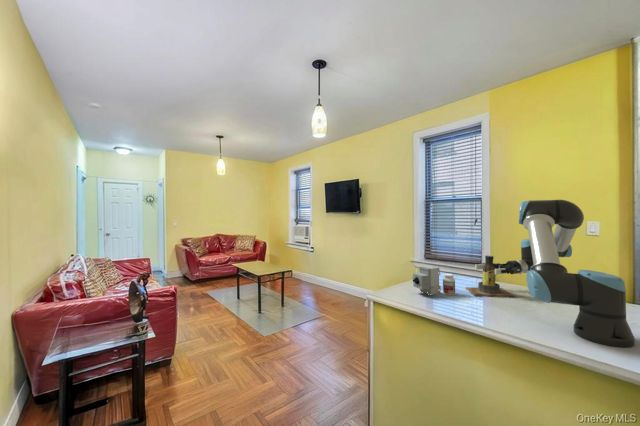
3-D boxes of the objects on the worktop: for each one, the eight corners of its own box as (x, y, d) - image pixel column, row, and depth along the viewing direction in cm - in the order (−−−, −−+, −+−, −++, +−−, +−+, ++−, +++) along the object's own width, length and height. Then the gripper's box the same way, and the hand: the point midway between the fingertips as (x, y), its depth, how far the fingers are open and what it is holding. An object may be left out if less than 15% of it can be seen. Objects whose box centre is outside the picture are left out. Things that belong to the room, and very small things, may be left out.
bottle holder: (502, 290, 157) (502, 281, 157) (515, 297, 143) (515, 287, 143) (465, 289, 160) (465, 280, 160) (474, 296, 146) (474, 286, 146)
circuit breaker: (411, 293, 154) (410, 267, 155) (431, 290, 159) (430, 265, 159) (419, 296, 147) (418, 269, 147) (440, 294, 152) (440, 267, 152)
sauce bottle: (489, 292, 148) (489, 256, 148) (479, 289, 153) (479, 255, 154) (498, 291, 150) (498, 256, 150) (488, 288, 156) (487, 254, 156)
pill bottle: (447, 291, 156) (447, 272, 156) (457, 294, 150) (457, 274, 150) (440, 293, 153) (440, 274, 153) (450, 296, 147) (450, 276, 147)
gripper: (537, 278, 143) (504, 281, 139) (497, 269, 168) (468, 271, 163) (537, 264, 143) (504, 266, 139) (497, 257, 168) (468, 259, 163)
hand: (485, 269), depth 151 cm, fingers open, 13 cm apart
